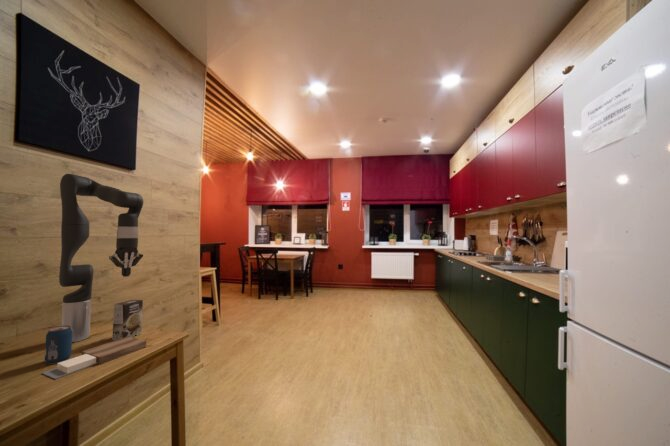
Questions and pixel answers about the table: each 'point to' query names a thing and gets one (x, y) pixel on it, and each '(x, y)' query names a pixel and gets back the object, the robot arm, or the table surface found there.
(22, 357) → the table surface
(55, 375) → the mat
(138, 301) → the coffee box
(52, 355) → the soda can
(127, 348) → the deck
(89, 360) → the tile
